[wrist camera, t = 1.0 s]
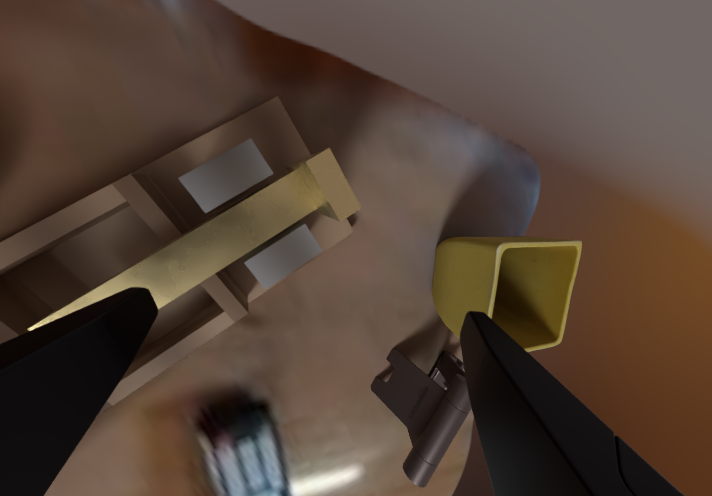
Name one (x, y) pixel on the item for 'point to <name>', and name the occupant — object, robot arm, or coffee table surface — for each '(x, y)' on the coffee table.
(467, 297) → the flower pot
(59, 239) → the dock
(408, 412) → the portable electronic device stand
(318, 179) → the beige wooden bar
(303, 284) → the coffee table surface
